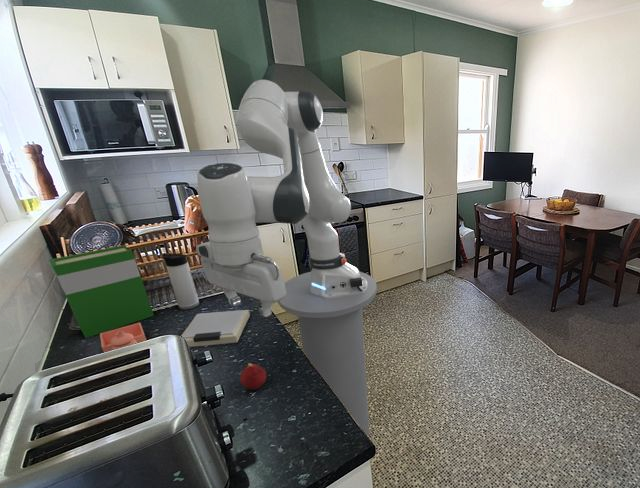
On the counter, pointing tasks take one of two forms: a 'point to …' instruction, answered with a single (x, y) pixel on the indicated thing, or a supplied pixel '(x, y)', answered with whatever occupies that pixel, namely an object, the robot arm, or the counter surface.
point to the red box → (122, 337)
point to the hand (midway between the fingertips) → (250, 309)
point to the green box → (103, 289)
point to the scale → (216, 328)
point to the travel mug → (181, 281)
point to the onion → (253, 376)
